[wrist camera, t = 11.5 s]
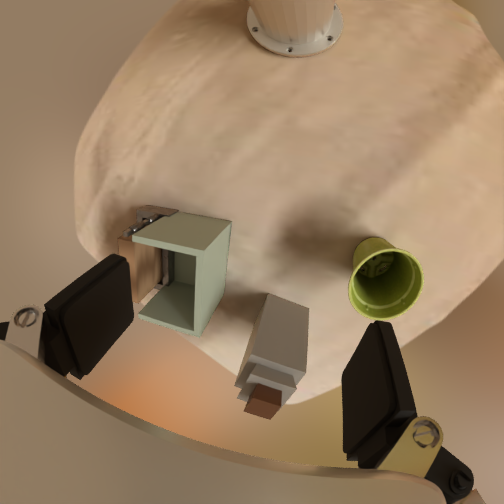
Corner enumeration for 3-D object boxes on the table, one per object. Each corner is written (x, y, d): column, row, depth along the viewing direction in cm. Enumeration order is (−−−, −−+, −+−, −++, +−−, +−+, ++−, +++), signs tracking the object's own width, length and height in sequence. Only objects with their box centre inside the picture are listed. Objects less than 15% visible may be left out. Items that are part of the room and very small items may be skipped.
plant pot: (368, 297, 38) (379, 333, 30) (327, 257, 37) (331, 288, 29) (414, 256, 34) (436, 285, 26) (375, 211, 33) (394, 231, 25)
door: (151, 215, 40) (112, 237, 31) (170, 219, 39) (133, 242, 30) (152, 267, 43) (119, 297, 34) (169, 271, 43) (138, 303, 34)
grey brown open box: (147, 204, 39) (102, 225, 29) (178, 209, 38) (137, 232, 29) (148, 275, 44) (112, 309, 34) (176, 283, 44) (143, 321, 34)
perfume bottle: (254, 324, 44) (225, 412, 27) (268, 293, 41) (241, 383, 25) (291, 338, 43) (278, 429, 27) (309, 308, 41) (303, 402, 24)
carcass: (173, 211, 39) (132, 235, 29) (231, 221, 38) (204, 250, 28) (172, 280, 44) (138, 318, 34) (223, 293, 42) (199, 337, 32)
